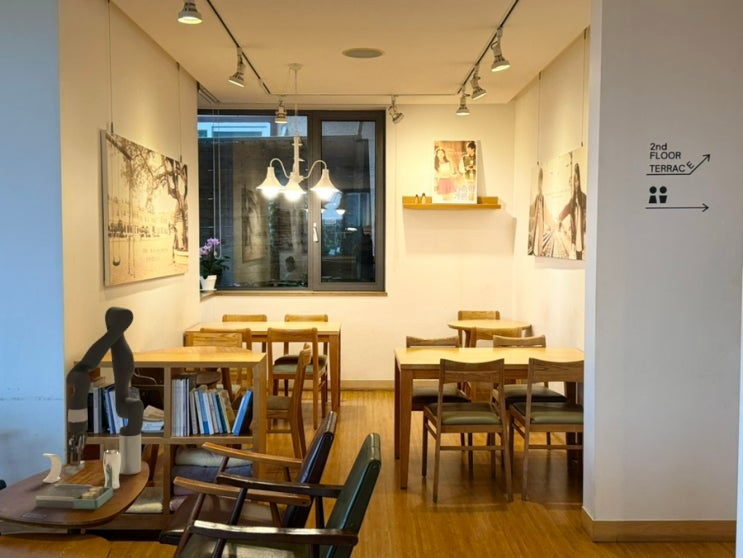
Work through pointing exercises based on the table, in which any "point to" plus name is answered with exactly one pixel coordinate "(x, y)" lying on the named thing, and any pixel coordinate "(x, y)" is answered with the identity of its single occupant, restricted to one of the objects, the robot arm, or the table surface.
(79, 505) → the chip tray
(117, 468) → the beer glass
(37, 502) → the open box
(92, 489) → the maple cube
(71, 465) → the rake tool
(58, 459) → the headphone stand
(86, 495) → the maple cube
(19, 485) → the table surface
